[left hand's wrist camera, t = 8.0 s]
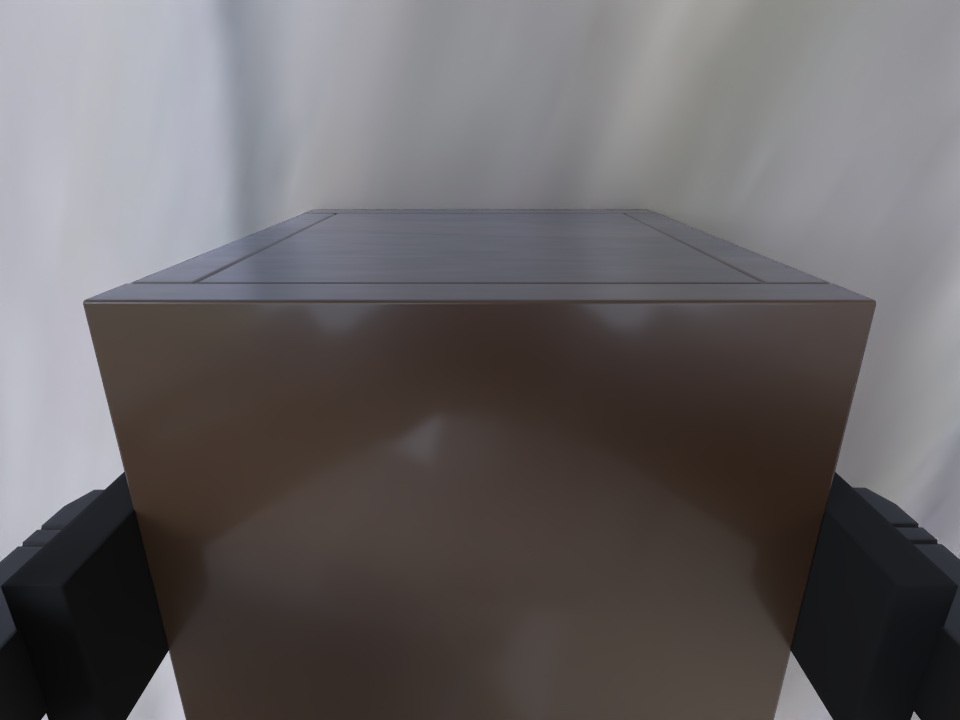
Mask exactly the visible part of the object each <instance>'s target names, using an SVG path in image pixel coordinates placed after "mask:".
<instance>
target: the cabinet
mask: <svg viewBox="0 0 960 720" xmlns="http://www.w3.org/2000/svg"><path fill="white" fill-rule="evenodd" d="M83 305H84V309H85V313H86V317H87V321H88V325H89V329H90V333H91V337H92V341H93V345H94V349H95V353H96V357H97V361H98V366H99V370H100V374H101V378H102V382H103V386H104V390H105V394H106V398H107V402H108V406H109V410H110V414H111V418H112V422H113V426H114V430H115V434H116V438H117V442H118V447H119V451H120V455H121V459H122V463H123V467H124V471H125V475H126V479H127V483H128V487H129V491H130V495H131V499H132V503H133V507H134V511H135V515H136V519H137V523H138V527H139V531H140V535H141V539H142V544H143V548H144V552H145V556H146V560H147V564H148V568H149V572H150V576H151V580H152V584H153V588H154V592H155V596H156V600H157V604H158V608H159V612H160V616H161V620H162V625H163V629H164V633H165V637H166V641H167V645H168V649H169V653H170V657H171V661H172V665H173V669H174V673H175V677H176V681H177V685H178V689H179V693H180V697H181V702H182V706H183V710H184V714H185V718H186V720H774V716H775V712H776V708H777V704H778V700H779V696H780V692H781V688H782V684H783V680H784V676H785V672H786V668H787V664H788V660H789V655H790V651H791V647H792V643H793V639H794V635H795V631H796V627H797V623H798V619H799V615H800V611H801V607H802V603H803V599H804V595H805V590H806V586H807V582H808V578H809V574H810V570H811V566H812V562H813V558H814V554H815V550H816V546H817V542H818V538H819V534H820V530H821V526H822V521H823V517H824V513H825V509H826V505H827V501H828V497H829V493H830V489H831V485H832V481H833V477H834V473H835V469H836V465H837V461H838V457H839V452H840V448H841V444H842V440H843V436H844V432H845V428H846V424H847V420H848V416H849V412H850V408H851V404H852V400H853V396H854V392H855V387H856V383H857V379H858V375H859V371H860V367H861V363H862V359H863V355H864V351H865V347H866V343H867V339H868V335H869V331H870V327H871V323H872V318H873V314H874V310H875V306H876V301H875V300H872V299H870V298H867V297H865V296H862V295H860V294H857V293H855V292H852V291H850V290H847V289H845V288H842V287H840V286H837V285H835V284H831V283H829V282H826V281H824V280H821V279H819V278H816V277H814V276H811V275H809V274H806V273H804V272H801V271H799V270H797V269H794V268H792V267H789V266H787V265H784V264H782V263H779V262H777V261H774V260H772V259H769V258H767V257H764V256H762V255H759V254H757V253H754V252H752V251H749V250H747V249H744V248H742V247H739V246H737V245H734V244H732V243H729V242H727V241H724V240H722V239H719V238H717V237H714V236H712V235H709V234H707V233H704V232H702V231H699V230H697V229H694V228H692V227H689V226H687V225H684V224H682V223H679V222H677V221H674V220H672V219H669V218H667V217H664V216H662V215H659V214H657V213H655V212H652V211H650V210H311V211H308V212H306V213H304V214H302V215H299V216H297V217H294V218H292V219H289V220H287V221H284V222H282V223H279V224H277V225H274V226H272V227H269V228H267V229H264V230H262V231H259V232H257V233H254V234H252V235H249V236H247V237H244V238H242V239H239V240H237V241H234V242H232V243H229V244H227V245H224V246H222V247H219V248H217V249H214V250H212V251H209V252H207V253H204V254H202V255H199V256H197V257H194V258H192V259H189V260H187V261H184V262H182V263H179V264H177V265H174V266H172V267H169V268H167V269H164V270H162V271H159V272H157V273H154V274H152V275H149V276H147V277H144V278H142V279H139V280H137V281H134V282H132V283H130V284H124V285H122V286H119V287H117V288H114V289H112V290H109V291H107V292H104V293H102V294H99V295H96V296H94V297H91V298H89V299H86V300H84V302H83Z"/></svg>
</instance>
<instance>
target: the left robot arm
mask: <svg viewBox="0 0 960 720" xmlns="http://www.w3.org/2000/svg"><path fill="white" fill-rule="evenodd" d="M168 651H169V649H168V645H167V641H166V637H165V633H164V629H163V625H162V620H161V616H160V612H159V608H158V604H157V600H156V596H155V592H154V588H153V584H152V580H151V576H150V572H149V568H148V564H147V560H146V556H145V552H144V548H143V544H142V539H141V535H140V531H139V527H138V523H137V519H136V515H135V511H134V507H133V503H132V499H131V495H130V491H129V487H128V483H127V479H126V475H125V472H124V473H123V474H121V475H120V476H119V477H118V478H117V479H116V480H115V481H114V482H113V483H112V484H111V485H110V486H108V487H107V488H106V489H105V490H93V491H91V492H90V493H88V494H86V495H84V496H82V497H80V498H79V499H77V500H75V501H73V502H71V503H69V504H68V505H66V506H64V507H63V508H62V509H61V510H59V511H58V512H57V513H56V514H55V515H54V516H53V517H51V518H50V519H49V520H48V521H47V522H46V523H45V524H43V525H42V528H41V530H37V531H35V532H34V533H33V534H32V535H31V536H30V537H28V538H27V539H26V540H25V541H24V542H23V546H22V547H17V548H16V549H15V550H14V551H12V552H11V553H10V554H9V555H8V556H7V557H6V558H4V559H3V560H2V561H1V562H0V720H41V719H42V718H43V716H44V715H45V714H47V717H48V719H49V720H126V719H127V717H128V716H129V714H130V712H131V711H132V709H133V708H134V706H135V704H136V703H137V701H138V699H139V698H140V696H141V695H142V693H143V691H144V690H145V688H146V686H147V685H148V683H149V682H150V680H151V678H152V677H153V675H154V673H155V672H156V670H157V668H158V667H159V665H160V664H161V662H162V660H163V659H164V657H165V655H166V654H167V652H168ZM791 652H792V653H793V655H794V656H795V658H796V660H797V661H798V663H799V665H800V666H801V668H802V669H803V671H804V673H805V674H806V676H807V678H808V679H809V681H810V683H811V684H812V686H813V687H814V689H815V691H816V692H817V694H818V696H819V697H820V699H821V700H822V702H823V704H824V705H825V707H826V709H827V710H828V712H829V713H830V715H831V717H832V718H833V720H911V717H912V714H913V711H915V713H916V714H917V715H918V717H919V718H920V719H921V720H960V560H959V559H958V558H957V557H956V556H955V555H954V554H953V553H951V552H950V551H949V550H948V549H947V548H946V547H944V546H943V545H942V544H937V540H936V539H935V538H934V537H933V536H932V535H931V534H929V533H928V532H927V531H926V530H925V529H924V528H919V527H918V523H917V522H916V521H914V520H913V519H912V518H911V517H910V516H909V515H908V514H906V513H905V512H904V511H903V510H902V509H901V508H899V507H898V506H897V505H896V504H894V503H892V502H891V501H889V500H887V499H885V498H883V497H881V496H880V495H878V494H876V493H874V492H872V491H870V490H869V489H867V488H852V487H851V486H850V485H849V484H848V483H847V482H845V481H844V480H843V479H842V478H841V477H840V476H839V475H838V474H837V473H836V472H835V473H834V477H833V481H832V485H831V489H830V493H829V497H828V501H827V505H826V509H825V513H824V517H823V521H822V526H821V530H820V534H819V538H818V542H817V546H816V550H815V554H814V558H813V562H812V566H811V570H810V574H809V578H808V582H807V586H806V590H805V595H804V599H803V603H802V607H801V611H800V615H799V619H798V623H797V627H796V631H795V635H794V639H793V643H792V647H791Z"/></svg>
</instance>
